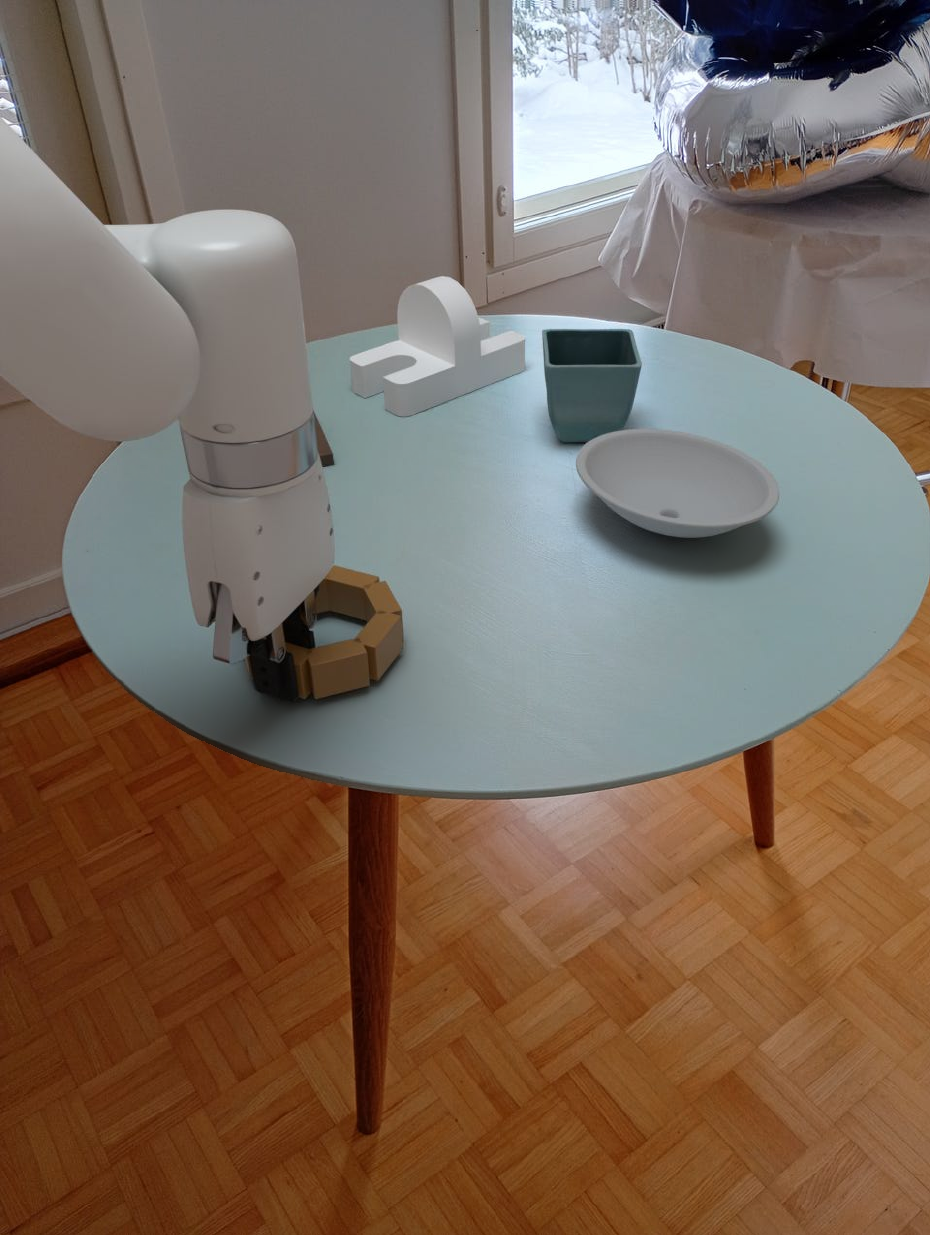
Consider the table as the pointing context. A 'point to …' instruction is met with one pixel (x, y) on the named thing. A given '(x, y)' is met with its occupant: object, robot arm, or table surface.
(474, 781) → the table surface
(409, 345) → the white slotted bracket
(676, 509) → the dish
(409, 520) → the table surface
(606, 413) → the flower pot
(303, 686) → the segmented block ring
